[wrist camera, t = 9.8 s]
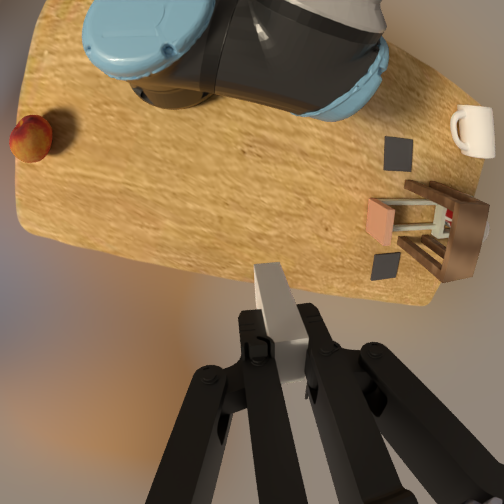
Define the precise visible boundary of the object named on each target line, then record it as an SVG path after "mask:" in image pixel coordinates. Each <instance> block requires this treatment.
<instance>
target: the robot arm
mask: <svg viewBox="0 0 504 504" xmlns="http://www.w3.org/2000/svg"><path fill="white" fill-rule="evenodd" d="M381 1H382V0H94V1H93V3H92V5H91V6H90V8H89V10H88V12H87V14H86V17H85V20H84V24H83V29H82V43H83V47H84V51H85V53H86V55H87V56H88V58H89V59H90V61H91V62H92V63H93V64H94V65H95V66H96V67H97V68H99V69H100V70H101V71H103V72H104V73H105V74H106V75H108V76H109V77H111V78H116V79H117V80H124V81H127V82H129V83H130V86H131V87H132V89H133V91H134V92H135V93H136V94H137V95H138V96H139V97H140V98H141V99H142V100H143V101H145V102H147V103H148V104H150V105H153V106H156V107H159V108H163V109H171V110H177V109H185V108H189V107H192V106H195V105H197V104H199V103H201V102H203V101H205V100H206V99H208V98H209V97H210V96H212V95H213V94H216V95H221V96H226V97H231V98H236V99H240V100H245V101H249V102H253V103H257V104H261V105H265V106H269V107H273V108H277V109H280V110H284V111H287V112H290V113H291V114H293V115H296V116H301V117H311V118H314V119H318V120H322V121H326V122H336V121H340V120H344V119H346V118H348V117H350V116H352V115H353V114H355V113H356V112H358V111H359V110H360V109H361V108H362V107H363V106H364V105H365V104H366V103H367V102H368V101H369V100H370V99H371V97H372V96H373V95H374V94H375V92H376V91H377V89H378V87H379V85H380V84H381V82H382V78H381V74H382V73H383V72H384V71H385V70H387V66H388V61H389V48H388V45H387V43H386V41H385V39H384V38H383V37H382V34H383V33H384V31H385V30H386V27H387V25H386V22H385V19H384V16H383V14H382V11H381V9H380V3H381ZM254 278H255V295H256V296H255V297H256V307H257V310H245V311H241V313H240V315H239V317H238V322H239V333H240V342H241V358H240V360H239V361H238V362H237V363H236V364H234V365H232V366H230V367H228V368H225V369H222V368H221V367H219V366H215V365H206V366H203V367H201V368H199V369H198V370H196V372H195V373H194V375H193V378H192V380H191V383H190V385H189V388H188V391H187V393H186V396H185V398H184V401H183V404H182V406H181V409H180V411H179V414H178V417H177V419H176V422H175V425H174V427H173V430H172V433H171V435H170V438H169V440H168V443H167V446H166V449H165V451H164V454H163V456H162V459H161V462H160V465H159V467H158V470H157V473H156V475H155V478H154V481H153V483H152V486H151V489H150V491H149V494H148V497H147V499H146V502H145V504H211V502H212V498H213V494H214V490H215V486H216V482H217V478H218V474H219V470H220V466H221V462H222V458H223V454H224V450H225V446H226V442H227V437H228V433H229V429H230V425H231V420H232V416H233V413H235V412H238V411H240V410H243V409H245V408H247V409H248V418H249V426H250V435H251V443H252V451H253V459H254V467H255V475H256V483H257V490H258V497H259V504H308V502H307V497H306V493H305V488H304V484H303V479H302V475H301V471H300V467H299V462H298V457H297V453H296V449H295V444H294V440H293V435H292V432H291V427H290V422H289V418H288V413H287V409H286V405H285V400H284V396H283V391H282V387H281V384H284V383H291V382H298V381H304V377H305V376H306V379H307V386H306V394H305V399H308V396H309V399H310V403H311V406H312V410H313V413H314V416H315V420H316V423H317V427H318V430H319V434H320V437H321V441H322V444H323V448H324V451H325V455H326V458H327V462H328V465H329V469H330V473H331V476H332V480H333V483H334V487H335V490H336V494H337V498H338V501H339V504H418V502H417V499H416V497H415V495H414V494H413V493H412V492H411V491H409V490H407V489H405V488H404V487H403V486H402V484H401V482H400V480H399V477H398V474H397V472H396V469H395V467H394V465H393V462H392V460H391V457H390V455H389V452H388V450H387V448H386V445H385V443H384V440H383V438H382V436H381V434H382V435H383V436H384V438H385V439H386V440H387V441H388V443H389V444H390V445H391V446H392V448H393V449H394V450H395V452H396V453H397V454H398V455H399V457H400V458H401V459H402V460H403V462H404V463H405V464H406V465H407V467H408V468H409V469H410V470H411V472H412V473H413V474H414V475H415V477H416V478H417V479H418V481H419V482H420V483H421V484H422V486H423V487H424V488H425V489H426V490H427V492H428V493H429V494H430V495H431V497H432V498H433V499H434V500H435V502H436V503H437V504H504V465H503V464H501V463H499V462H498V461H497V460H496V459H495V458H494V457H493V456H492V455H491V454H490V452H489V451H487V449H486V448H485V447H484V446H483V445H482V444H481V443H480V442H479V441H478V440H477V439H476V437H475V436H474V435H473V434H472V433H471V432H470V431H469V430H468V429H467V428H466V427H465V426H464V425H463V424H462V423H461V422H460V421H459V420H458V419H457V417H456V416H455V415H454V414H452V412H451V411H450V410H449V409H448V408H447V407H446V406H445V405H444V404H443V403H442V402H441V401H440V400H439V399H438V398H437V397H436V396H435V395H434V394H433V393H432V392H431V391H430V390H429V389H428V388H427V387H426V386H425V385H424V384H423V383H422V382H421V381H420V380H419V379H418V378H417V377H416V376H415V375H414V374H413V373H412V372H411V371H410V370H409V369H408V368H407V367H406V366H405V365H404V364H403V363H402V362H401V361H400V360H399V359H398V358H397V357H396V356H395V355H394V354H393V353H392V352H391V351H390V350H389V349H388V348H387V347H386V346H384V345H383V344H381V343H378V342H370V343H366V344H365V345H363V346H362V348H361V350H349V349H344V348H341V346H340V345H339V344H338V343H336V342H335V341H333V340H332V338H331V336H330V334H329V332H328V329H327V327H326V326H325V323H324V321H323V319H322V317H321V315H320V313H319V310H318V309H317V307H315V306H314V305H313V304H312V303H304V304H296V303H295V301H294V298H293V295H292V293H291V290H290V287H289V285H288V282H287V280H286V277H285V275H284V272H283V270H282V267H281V265H280V262H274V263H263V264H254Z"/></svg>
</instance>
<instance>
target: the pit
mask: <svg viewBox="0 0 504 504" xmlns="http://www.w3.org/2000/svg"><path fill="white" fill-rule="evenodd" d="M412 147H413V140H412V139H404V138H396V137H387V136H385V146H384V169H383V170H387V171H405V172H411V165H412Z"/></svg>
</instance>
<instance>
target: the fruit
mask: <svg viewBox="0 0 504 504" xmlns="http://www.w3.org/2000/svg"><path fill="white" fill-rule="evenodd" d="M51 143H52V128H51V126H50V124H49V123H48V121H46V120H45V119H44V118H43V117H41V116H39V115H28V116H25V117H24V118H22V119H21V120H20V121H19V123H18V124H17V125H16V127H15V128H14V130H13V131H12V133H11V135H10V143H9V144H10V149H11V151H12V153H13V154H14V156H16V157H17V158H18V159H20V160H21V161H23V162H27V163H32V162H38V161H41V160H42V159H43V158H44V157H45V156H46V155H47V154H48V152H49V149H50V147H51Z"/></svg>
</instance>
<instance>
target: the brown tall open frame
mask: <svg viewBox="0 0 504 504" xmlns="http://www.w3.org/2000/svg"><path fill="white" fill-rule="evenodd" d="M404 188H405V189H407V190H409V191H412V192H414V193H416V194H418V195H420V196H422V197H424V198H426V199H429V200H431V201H433V202H435V203H437V204H439V205H441V206H443V207H445V208H447V209H448V210H450V211H452V212H453V217H452V223H451V228H450V233H449V238H448V243H447V247H445V246H444V245H442V244H441V243H440V242H438V241H437V240H435V239H434V238H432V237H431V236H429V235H422V239H421V242H422V243H423V244H424V245H426V246H427V247H428V248H430V249H431V250H432V251H434V252H435V253H436V254H438V255H439V256H440V257H442V258H443V259H444V260H443V264H442V265H441V264H440V263H439V262H438V261H436V260H435V259H434V258H433V257H431V256H430V255H429V254H428V253H426V252H425V251H424V250H422V249H421V248H420V247H418V246H417V245H416V244H415V243H413V242H412V241H411V240H409V239H408V238H406V237H405V236H399V237H398V241H397V245H399V246H400V247H401V248H402V249H404V250H405V251H406V252H407V253H408V254H410V255H411V256H412V257H413V258H414V259H416V260H417V261H418V262H419V263H420V264H421V265H423V266H424V267H425V268H426V269H427V270H428V271H430V272H431V273H432V274H433V275H434V276H435V277H436V278H437V279H439V280H440V281H441V282H442V283H446V282H450V281H455V280H460V279H464V278H469V277H473V274H474V270H475V267H476V263H477V260H478V256H479V253H480V249H481V245H482V241H483V236H484V232H485V227H486V223H487V218H488V212H489V206H490V205H489V204H487V203H484V202H482V201H480V200H478V199H476V198H474V197H471V196H469V195H467V194H465V193H462V192H460V191H458V190H455V189H453V188H451V187H448V186H446V185H443V184H441V183H438V182H436V181H430V184H429V187H427V186H425V185H423V184H420V183H418V182H415V181H413V180H405V186H404Z"/></svg>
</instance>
